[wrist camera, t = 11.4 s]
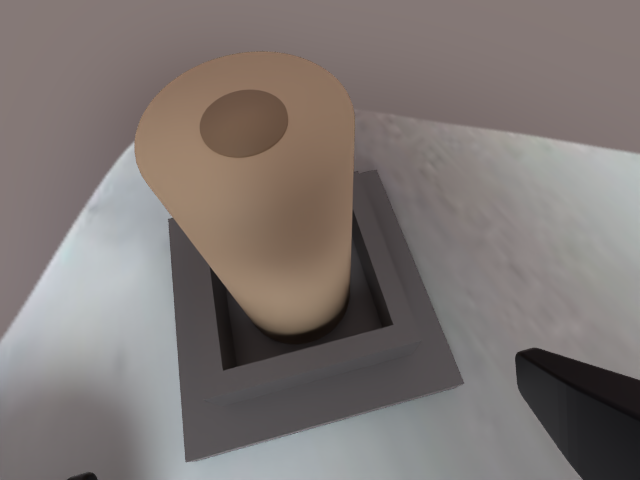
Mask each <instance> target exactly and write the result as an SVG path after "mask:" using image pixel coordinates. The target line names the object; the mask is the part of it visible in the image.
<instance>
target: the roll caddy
mask: <svg viewBox="0 0 640 480" xmlns="http://www.w3.org/2000/svg"><path fill="white" fill-rule="evenodd" d="M168 222H169V236H170V250H171V264H172V278H173V292H174V306H175V320H176V334H177V348H178V362H179V376H180V390H181V404H182V418H183V432H184V446H185V460H186V462H194V461H199V460H202V459H206V458H209V457H213V456H216V455H220V454H224V453H227V452H231V451H234V450H238V449H241V448H245V447H248V446H252V445H255V444H259V443H262V442H266V441H269V440H273V439H276V438H280V437H283V436H287V435H291V434H294V433H298V432H301V431H305V430H308V429H312V428H315V427H319V426H322V425H326V424H329V423H333V422H336V421H340V420H343V419H347V418H350V417H354V416H358V415H361V414H365V413H368V412H372V411H375V410H379V409H382V408H386V407H389V406H393V405H396V404H400V403H403V402H407V401H410V400H414V399H417V398H421V397H425V396H428V395H432V394H435V393H439V392H442V391H446V390H449V389H453V388H456V387H458V386H460V385H462V384H464V382H463V379H462V377H461V375H460V372H459V370H458V367H457V365H456V362H455V360H454V358H453V355H452V353H451V350H450V348H449V345H448V343H447V341H446V338H445V336H444V333H443V331H442V328H441V326H440V324H439V321H438V319H437V316H436V314H435V311H434V309H433V306H432V304H431V302H430V299H429V297H428V294H427V292H426V289H425V287H424V285H423V282H422V280H421V277H420V275H419V272H418V270H417V268H416V265H415V263H414V260H413V258H412V255H411V253H410V251H409V248H408V246H407V243H406V241H405V238H404V236H403V234H402V231H401V229H400V226H399V224H398V221H397V219H396V217H395V214H394V212H393V209H392V207H391V204H390V202H389V200H388V197H387V195H386V192H385V190H384V187H383V185H382V183H381V180H380V178H379V175H378V173H377V170H373V171H369V172H364V173H360V174H359V173H358V171H356V172H353V207H352V241H351V276H350V298H349V304H348V307H347V310H346V312H345V315H344V316H343V318H342V320H341V321H340V322H339V324H338V325H337V326H336V327H335V328H334V329H333V330H332V331H331V332H329V333H328V334H327V335H325V336H323V337H322V338H320V339H318V340H315V341H313V342H309V343H305V344H286V343H281V342H278V341H275V340H273V339H271V338H269V337H267V336H266V335H264V334H263V333H262V332H261V331H260V330H259V329H258V328H257V327H256V326H255V325H254V323H253V322H252V321H251V320H250V318H249V317H248V316H247V314H246V313H245V312H244V310H243V309H242V308H241V306H240V305H239V304H238V302H237V301H236V300H235V299H234V297H233V296H232V295H231V293H230V292H229V291H228V289H227V288H226V287H225V285H224V284H223V283H222V281H221V280H220V279H219V277H218V276H217V275H216V274H215V272H214V271H213V270H212V268H211V267H210V266H209V264H208V263H207V262H206V260H205V259H204V258H203V256H202V255H201V254H200V253H199V251H198V250H197V249H196V247H195V246H194V245H193V243H192V242H191V241H190V239H189V238H188V237H187V235H186V234H185V233H184V231H183V230H182V229H181V228H180V226H179V225H178V224H177V222H176V221H175V220H174V218H171V219H168Z"/></svg>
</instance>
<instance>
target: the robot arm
mask: <svg viewBox="0 0 640 480" xmlns="http://www.w3.org/2000/svg"><path fill="white" fill-rule="evenodd" d="M515 362H516V375H517V385H518V389H519V391H520V393H521V395H522V397H523V398H524V399H525V401H526V402H527V404H528V405H529V407H530V408H531V409H532V411H533V412H534V414H535V415H536V417H537V418H538V420H539V421H540V422H541V424H542V425H543V427H544V428H545V430H546V431H547V432H548V434H549V435H550V437H551V438H552V440H553V441H554V442H555V444H556V445H557V447H558V448H559V450H560V451H561V452H562V454H563V455H564V456H565V458H566V459H567V461H568V462H569V463H570V464H571V466H572V467H573V468H574V469H575V471H576V472H577V473H578V474H579V475H580V477H581V478H582V479H583V480H640V380H638V379H635V378H631V377H628V376H625V375H622V374H619V373H615V372H612V371H609V370H606V369H603V368H599V367H596V366H593V365H590V364H587V363H583V362H580V361H577V360H574V359H571V358H567V357H564V356H561V355H558V354H555V353H551V352H548V351H545V350H542V349H539V348H530V349H527V350H523V351H519V352H518V353H517V354H516V356H515ZM67 480H98V479H97V477H96V475H95V474H94V473H92V472H87V473H83V474H80V475H76V476H73V477H70V478H69V479H67Z"/></svg>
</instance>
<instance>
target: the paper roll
mask: <svg viewBox="0 0 640 480" xmlns="http://www.w3.org/2000/svg"><path fill="white" fill-rule="evenodd" d="M354 137H355V115H354V110H353V105H352V103H351V100H350V97H349V95H348V93H347V92H346V90H345V88H344V87H343V86H342V84H341V83H340V82H339V81H338V80H337V79H336V78H335V77H334V76H333V75H332V74H331V73H330V72H328V71H327V70H325V69H324V68H322V67H320V66H319V65H317V64H315V63H313V62H311V61H309V60H306V59H304V58H301V57H297V56H294V55H290V54H284V53H278V52H264V51H260V52H245V53H237V54H232V55H227V56H223V57H219V58H216V59H213V60H210V61H208V62H205V63H203V64H200V65H198V66H196V67H194V68H192V69H190V70H188V71H186V72H185V73H183V74H181V75H180V76H178V77H177V78H176V79H174V80H173V81H172V82H170V83H169V84H168V85H167V86H166V87H164V88H163V89H162V90H161V91H160V92H159V93H158V94H157V96H156V97H155V98H154V99H153V100H152V101H151V103H150V104H149V106H148V107H147V108H146V110H145V112H144V114H143V116H142V118H141V120H140V122H139V125H138V128H137V131H136V137H135V157H136V163H137V165H138V168H139V170H140V173H141V175H142V176H143V178H144V180H145V181H146V183H147V184H148V186H149V187H150V188H151V189H152V191H153V192H154V193H155V195H156V196H157V197H158V199H159V200H160V201H161V203H162V204H163V205H164V207H165V208H166V209H167V210H168V212H169V213H170V214H171V216H172V217H173V218H174V220H175V221H176V222H177V224H178V225H179V226H180V228H181V229H182V230H183V231H184V233H185V234H186V235H187V237H188V238H189V239H190V241H191V242H192V243H193V245H194V246H195V247H196V249H197V250H198V251H199V253H200V254H201V255H202V256H203V258H204V259H205V260H206V262H207V263H208V264H209V266H210V267H211V268H212V270H213V271H214V272H215V274H216V275H217V276H218V277H219V279H220V280H221V281H222V283H223V284H224V285H225V287H226V288H227V289H228V291H229V292H230V293H231V295H232V296H233V297H234V299H235V300H236V301H237V302H238V304H239V305H240V306H241V308H242V309H243V310H244V312H245V313H246V314H247V316H248V317H249V318H250V320H251V321H252V322H253V323H254V325H255V326H256V327H257V328H258V329H259V330H260V331H261V332H262V333H263V334H264V335H266V336H267V337H269V338H271V339H273V340H275V341H278V342H281V343H286V344H305V343H309V342H313V341H315V340H318V339H320V338H322V337H323V336H325V335H327V334H328V333H329V332H331V331H332V330H333V329H334V328H335V327H336V326H337V325H338V324H339V322H340V321H341V320H342V318H343V316H344V315H345V312H346V310H347V307H348V304H349V298H350V276H351V241H352V207H353V172H354Z"/></svg>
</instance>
